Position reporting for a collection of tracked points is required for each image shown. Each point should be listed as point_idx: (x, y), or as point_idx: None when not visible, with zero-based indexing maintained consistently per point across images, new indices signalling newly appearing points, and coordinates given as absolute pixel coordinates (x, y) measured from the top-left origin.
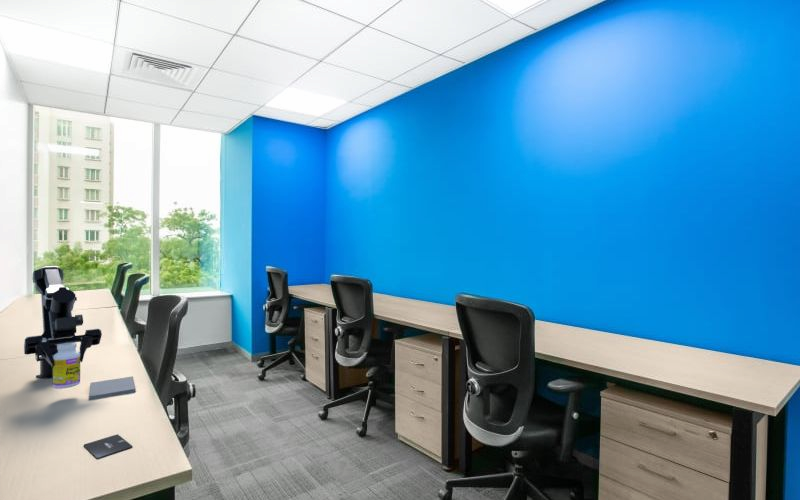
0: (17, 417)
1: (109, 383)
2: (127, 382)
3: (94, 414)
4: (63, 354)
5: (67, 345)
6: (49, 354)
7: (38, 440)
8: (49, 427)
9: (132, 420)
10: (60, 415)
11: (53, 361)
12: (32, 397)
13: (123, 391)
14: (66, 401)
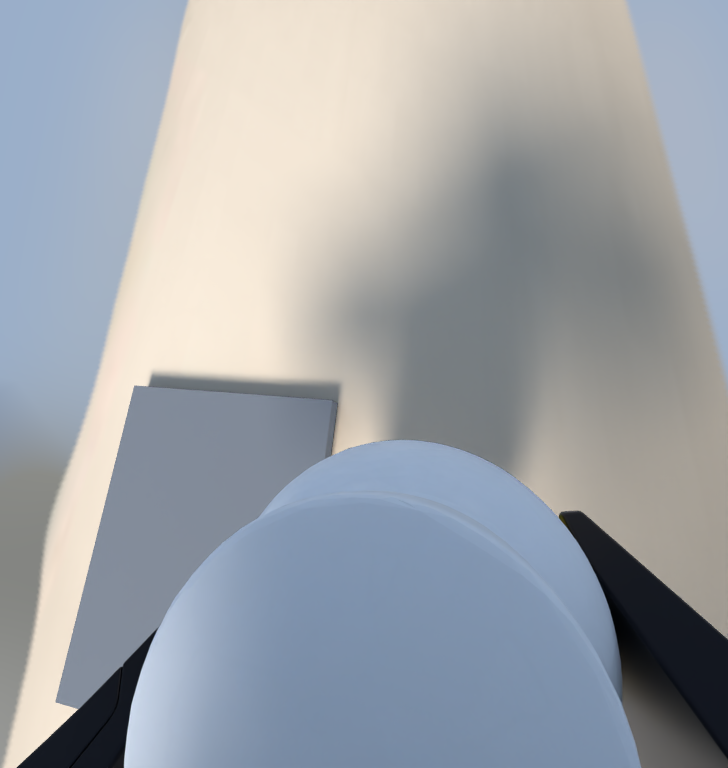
0: (659, 325)
1: None
2: (122, 556)
3: (342, 172)
4: (450, 483)
5: (352, 503)
6: (720, 672)
7: (525, 8)
8: (498, 111)
9: (252, 52)
10: (463, 234)
11: (581, 546)
12: None
13: (185, 389)
14: None
